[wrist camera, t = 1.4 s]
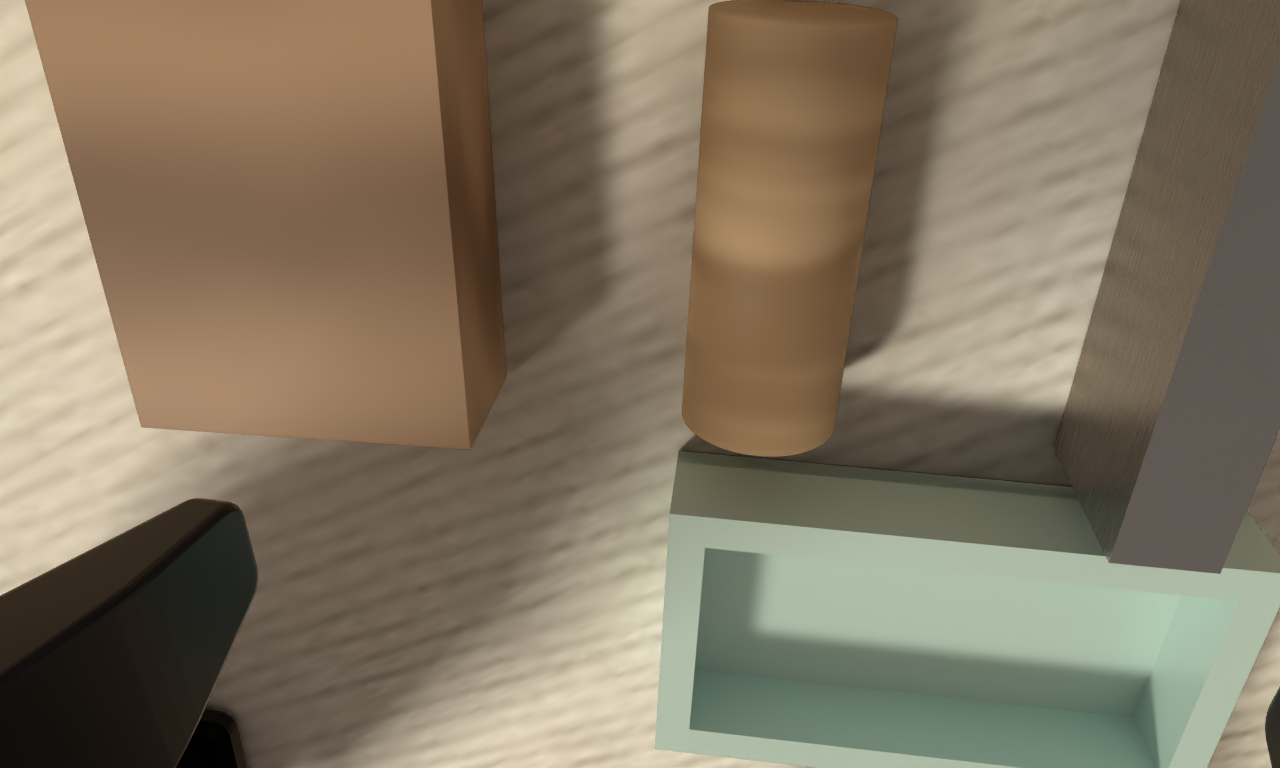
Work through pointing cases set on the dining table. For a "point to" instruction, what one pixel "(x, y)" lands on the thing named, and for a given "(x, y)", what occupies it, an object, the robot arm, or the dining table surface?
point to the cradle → (938, 625)
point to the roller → (781, 217)
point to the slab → (289, 209)
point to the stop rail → (1188, 306)
